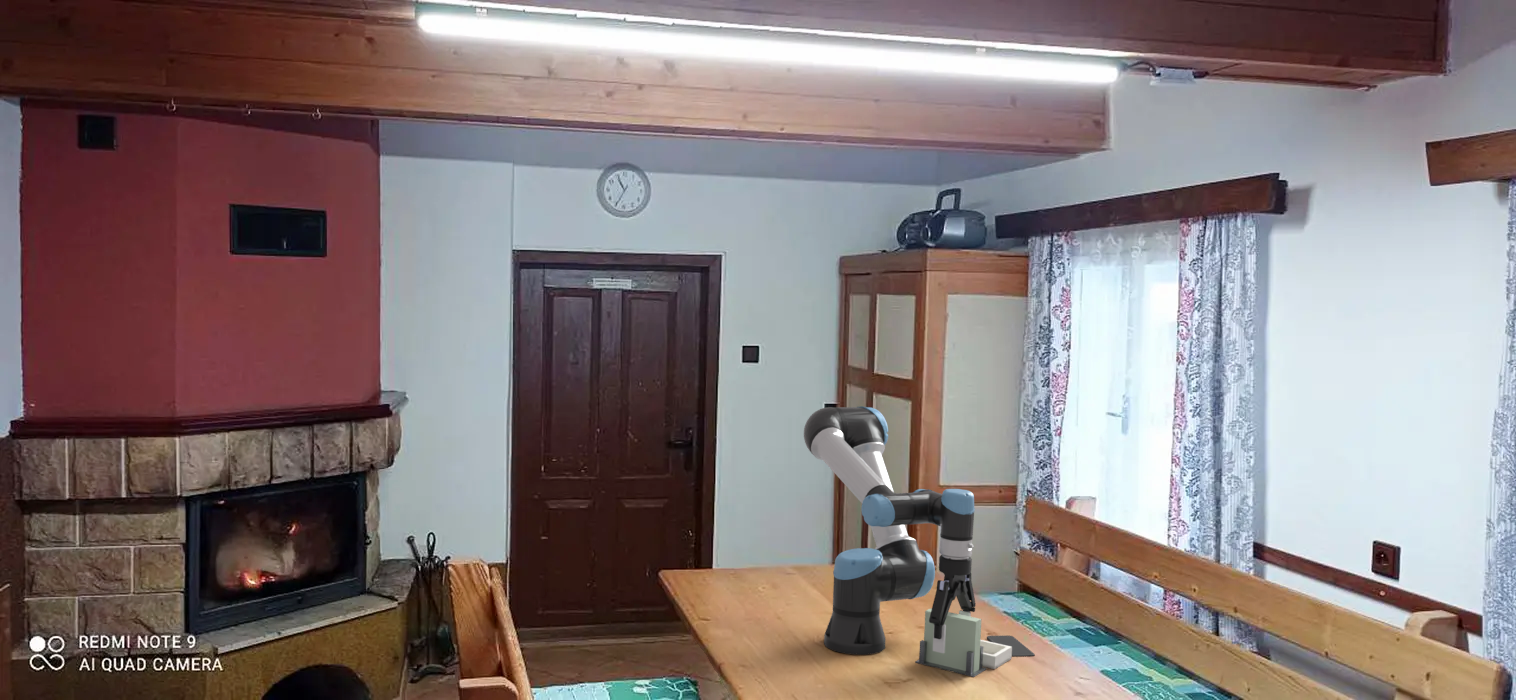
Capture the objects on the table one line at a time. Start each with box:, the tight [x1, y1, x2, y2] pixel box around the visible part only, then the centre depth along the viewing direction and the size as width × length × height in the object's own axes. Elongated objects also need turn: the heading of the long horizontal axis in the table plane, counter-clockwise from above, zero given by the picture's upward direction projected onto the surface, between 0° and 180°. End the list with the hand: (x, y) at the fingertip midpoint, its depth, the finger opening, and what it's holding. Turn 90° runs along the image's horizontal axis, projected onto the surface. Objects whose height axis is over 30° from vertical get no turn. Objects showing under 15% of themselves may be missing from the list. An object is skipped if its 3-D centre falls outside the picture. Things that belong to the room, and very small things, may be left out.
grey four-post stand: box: [914, 639, 987, 678], centre depth 259 cm, size 15×7×5 cm, turn 55°
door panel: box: [923, 608, 982, 673], centre depth 259 cm, size 13×4×12 cm, turn 55°
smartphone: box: [986, 635, 1035, 658], centre depth 276 cm, size 7×1×15 cm
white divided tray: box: [980, 639, 1012, 670], centre depth 267 cm, size 18×10×3 cm, turn 55°
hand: (951, 645), depth 259 cm, fingers open, 13 cm apart
